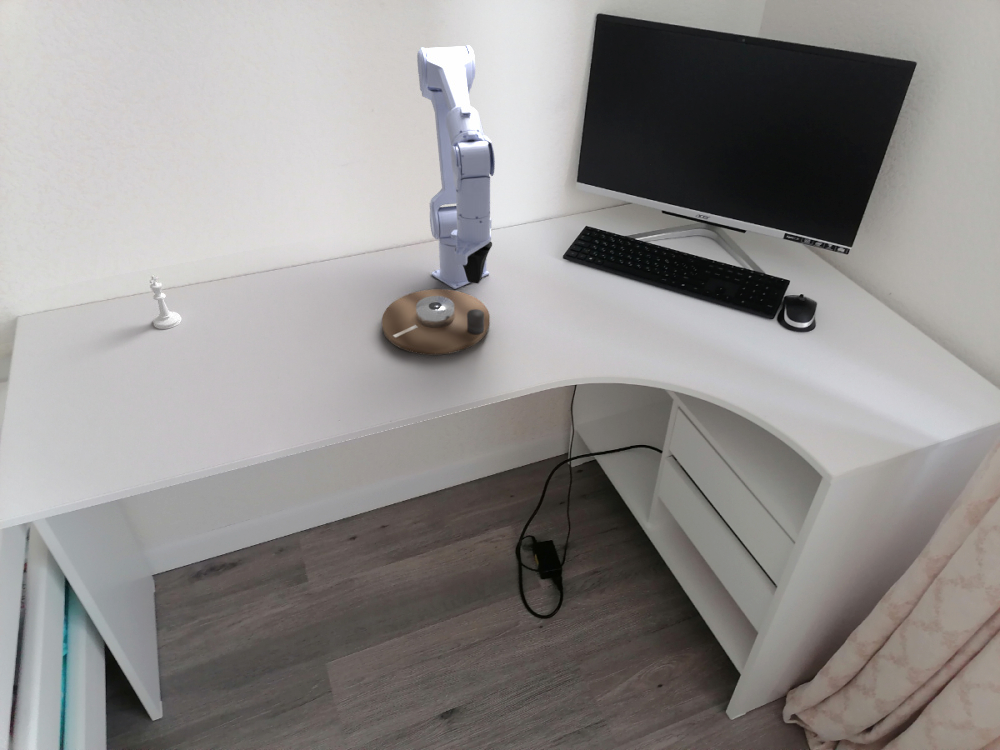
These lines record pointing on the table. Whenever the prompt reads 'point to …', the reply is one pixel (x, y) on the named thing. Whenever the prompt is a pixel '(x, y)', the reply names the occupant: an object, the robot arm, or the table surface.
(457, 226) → the robot arm
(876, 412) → the table surface
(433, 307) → the cover
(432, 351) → the turntable
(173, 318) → the chess piece
